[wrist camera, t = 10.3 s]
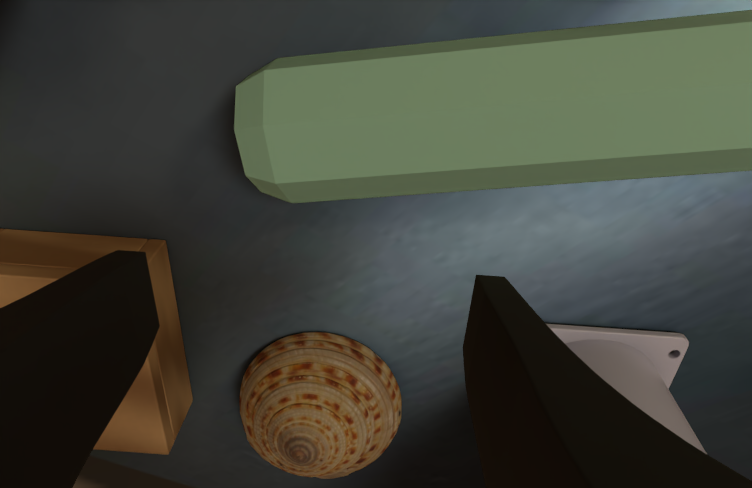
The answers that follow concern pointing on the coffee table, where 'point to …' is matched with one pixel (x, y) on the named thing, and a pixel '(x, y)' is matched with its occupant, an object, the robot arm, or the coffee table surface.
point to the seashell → (319, 405)
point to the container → (502, 111)
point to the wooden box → (167, 355)
